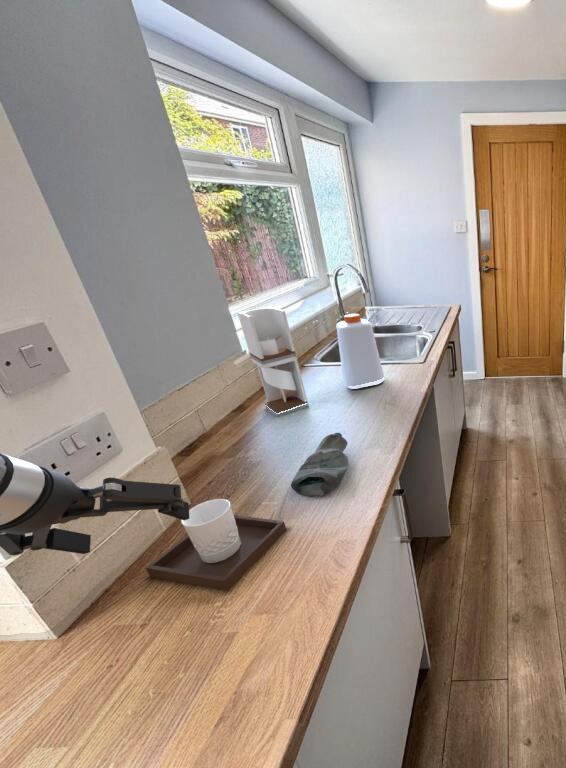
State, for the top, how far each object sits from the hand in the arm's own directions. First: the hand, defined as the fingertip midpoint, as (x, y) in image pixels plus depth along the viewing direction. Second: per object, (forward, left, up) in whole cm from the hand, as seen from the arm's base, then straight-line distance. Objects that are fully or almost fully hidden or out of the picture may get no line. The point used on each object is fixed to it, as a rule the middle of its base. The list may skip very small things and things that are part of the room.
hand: (138, 527), depth 65 cm
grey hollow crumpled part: (+3, +41, -18) cm, 45 cm away
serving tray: (-2, +12, -18) cm, 21 cm away
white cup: (-2, +12, -17) cm, 21 cm away
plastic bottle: (-21, +100, -18) cm, 104 cm away
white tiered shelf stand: (-37, +75, -18) cm, 85 cm away
